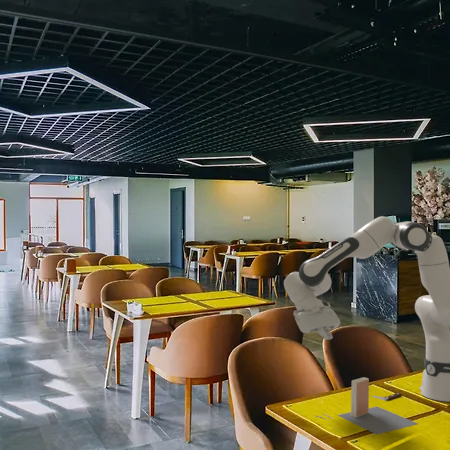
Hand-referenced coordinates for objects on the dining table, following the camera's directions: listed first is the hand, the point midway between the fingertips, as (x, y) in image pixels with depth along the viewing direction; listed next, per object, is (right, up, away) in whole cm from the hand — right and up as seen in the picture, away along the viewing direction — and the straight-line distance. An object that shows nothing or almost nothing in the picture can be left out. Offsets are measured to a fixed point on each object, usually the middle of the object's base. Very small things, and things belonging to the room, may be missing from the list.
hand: (329, 338), depth 183 cm
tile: (+8, -23, -13) cm, 28 cm away
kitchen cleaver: (+20, -25, +5) cm, 32 cm away
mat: (+12, -24, -17) cm, 32 cm away
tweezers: (-2, -24, -19) cm, 31 cm away
